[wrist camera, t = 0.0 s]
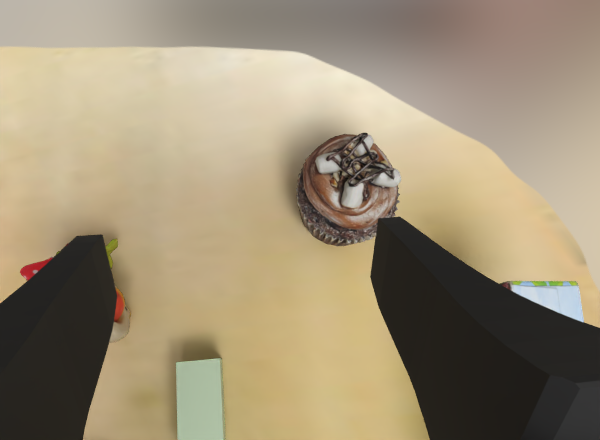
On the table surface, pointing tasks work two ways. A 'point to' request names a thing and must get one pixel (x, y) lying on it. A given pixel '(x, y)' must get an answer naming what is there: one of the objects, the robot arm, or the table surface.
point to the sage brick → (200, 400)
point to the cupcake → (347, 190)
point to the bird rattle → (121, 311)
